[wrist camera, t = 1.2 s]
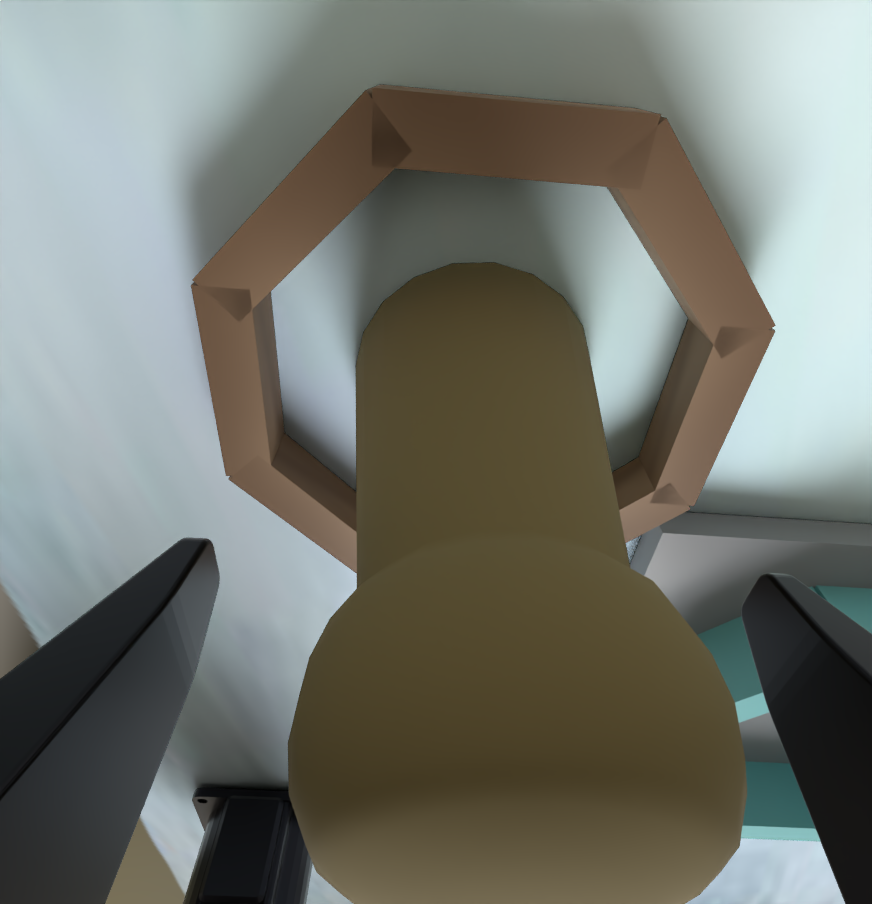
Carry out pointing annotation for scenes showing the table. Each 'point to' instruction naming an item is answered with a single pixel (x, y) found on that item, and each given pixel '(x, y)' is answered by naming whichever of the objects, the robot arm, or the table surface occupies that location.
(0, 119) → the table surface
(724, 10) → the table surface
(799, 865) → the table surface
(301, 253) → the walnut ring
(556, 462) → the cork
